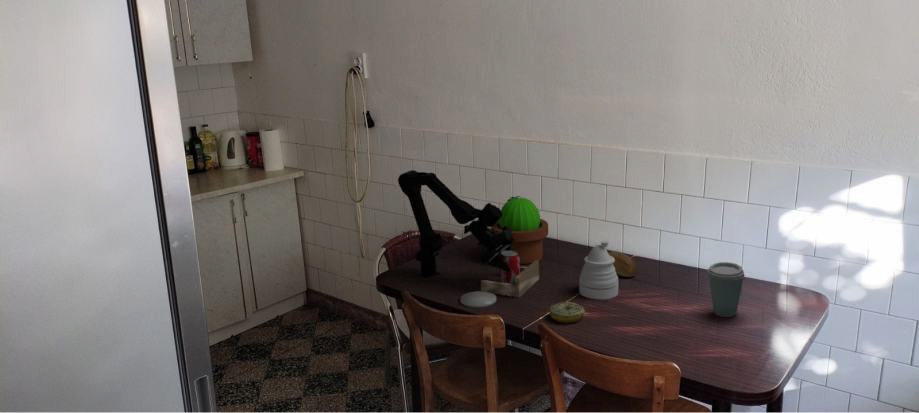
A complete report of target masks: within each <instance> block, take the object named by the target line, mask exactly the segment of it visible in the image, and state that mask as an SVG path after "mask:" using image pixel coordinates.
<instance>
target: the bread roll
mask: <svg viewBox="0 0 919 413" xmlns="http://www.w3.org/2000/svg"><path fill="white" fill-rule="evenodd" d="M608 254H609V255H610V256H612V257H613V258H614V259H615V262H614V263H613V266H614V267H615V271H616V275H617V276H618V277H619V276H620V277H626V278H629V277H630V278H631V277H634V276H636V275H637V273H638V272H637V271H638V268H637V265H636V262H635V261H634V259H632V257H630V256H629V255H628V254H625V253H623V252H618V251H612V252H608Z"/></svg>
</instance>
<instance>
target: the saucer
mask: <svg viewBox="0 0 919 413" xmlns="http://www.w3.org/2000/svg"><path fill="white" fill-rule="evenodd" d="M496 302H497V296H496V294H492V293H490V292H484V291H481V290H479V291H477V290H476V291H471V292H470V291H469V292H467V293H464V294H462V295H461V297H460V303H461V304H462V305H464V306H466V307H470V308H485V307H489V306H492V305H494V304H495V303H496Z"/></svg>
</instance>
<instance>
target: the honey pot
mask: <svg viewBox="0 0 919 413" xmlns="http://www.w3.org/2000/svg"><path fill="white" fill-rule="evenodd" d="M608 246H609V241H608V240H601V241H600V244H596V245H595V246H593V247H592V248H591V249H590V252H589V253H588V255H587V256H585V257H584V265H583V266H582V270H581V274H580V275H579V278H578V279H579V286H578V287H579V294H580V295H581V296H583V297H585V298H586V299H587V298H588V299H591V300H592V299H593V300H609V299H612V298H615V297H617V296H618V294H619V275H616V271H615V267H614V266H613V263H614V262H615V259H614V258H613V257H612V256H610V255H609V254H608V253H609V252H608V251H607V249H606V248H607V247H608Z"/></svg>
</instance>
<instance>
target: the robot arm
mask: <svg viewBox="0 0 919 413" xmlns="http://www.w3.org/2000/svg"><path fill="white" fill-rule="evenodd" d="M397 182H398V185H399V187H400V190H401V191H402V193H403V194H404V195H405V196H406V197H407V198H408V201H409V204H410V207H411V210H412V214H413V216H414V219H415V222H416V226H417V229H418V232H419V242H418V243H419V244H418V245H419V251H418V252H416V254H414V257H415V260H416V262H419V267H420V268H419V270H418V271H417V272H416V274H417V275H420V276H422V277H424V278H430V277H432V276H436V275H440V274H441V272H440V271H438V270H437V260H436V259H437V258H436V257H438V256H439V254H440V252H441V251H442V249H443V244H444V241H443V239H442V237H441V232H437V233H436V231H434V229H433V226H432V224H431V221H430V218H429V214H428V212H427V209H426V205H425V203H424V202H425V201H424V199H423V196H422V186H426V187H427V188H428V189H429V190H430V191H431V192H432V193H433V194H434V195H435V196H436V197H437V198H439V200H441V201H442V203H444V205H446V206H447V208H448V209H449V211H450V213H451V216H452V217H453V219H454V220H455V221H456V222H457V223H458V224H460V225H464V226H463V228H464V230H463V233H464V235H466V234H468V233H469V232H470V234H471V235H472V236H473V237H474V238H475V239H476V241H478V243H477V245H478V246H482V247H483V248H484V250H486V251H485V252H484V253H483V254H482V255H481V256H480V257H479V263H481V265H482V266H485V265H487V266H491V267H494V268H497V269H499V270H500V269H501V270H504V271H506V272H510V269H509V267H508V266H507V265H506V263H505V262H504V260H503V259H502V258H501V253H502V252H503V251H508V250H512V247H513V243H512V242H513V241H514V238H513V235H512V231H513V230H512V229H511V228H510V227H508V226H507V225H506V226H504V227H502V231H500V232H498V233H497V232H496V231H494V230H493V231H491V227H492V226H493V225H494V224H495V223H496V222H497V221H498V220H499V219H500V218H501V217H502V215H503V214H502V212H501V208H500V207H498V206H496V205H494V204H492V203H491V202H488V203H486V204H485V205H484V207H483V208H482V209H480V208H476V207H475V206H473V205H472V204H470V203H469V202H468V201H466V200H463V199H461V198H459V197H458V196H457V195H456V194H455V193H454V192H453V191H452V190H451V189H449V187H448V186H447V185H446V184H444V183H443V181H442V180H440V178H438V177H437V174H436V173H434V172H425V171H420V172H419V171H417V170H415V169H414V170H413V169H412V170H407V171H405V172H404V173H401V174H400V175H399V176H398V178H397ZM468 223H469V224H468ZM511 243H512V244H511ZM510 244H511V245H510ZM512 251H513V250H512ZM498 252H500V253H498Z"/></svg>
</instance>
